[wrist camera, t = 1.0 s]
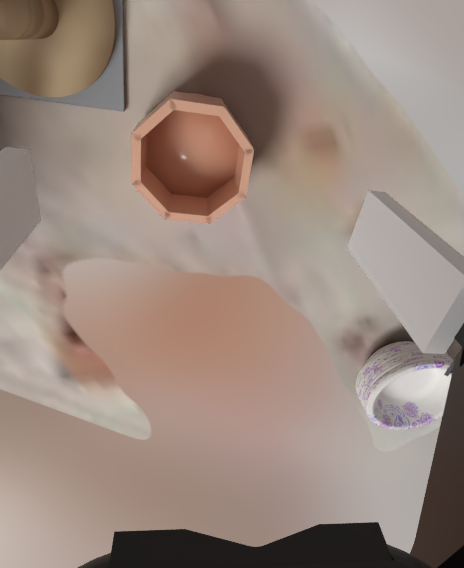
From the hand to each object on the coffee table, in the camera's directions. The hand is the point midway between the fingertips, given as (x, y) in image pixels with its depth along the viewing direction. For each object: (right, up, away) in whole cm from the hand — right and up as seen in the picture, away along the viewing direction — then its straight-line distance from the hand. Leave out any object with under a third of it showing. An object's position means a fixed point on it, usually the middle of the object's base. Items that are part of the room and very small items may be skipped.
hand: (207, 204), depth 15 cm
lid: (-16, +20, +16) cm, 30 cm away
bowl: (-3, +11, +24) cm, 27 cm away
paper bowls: (+28, -16, +46) cm, 56 cm away
